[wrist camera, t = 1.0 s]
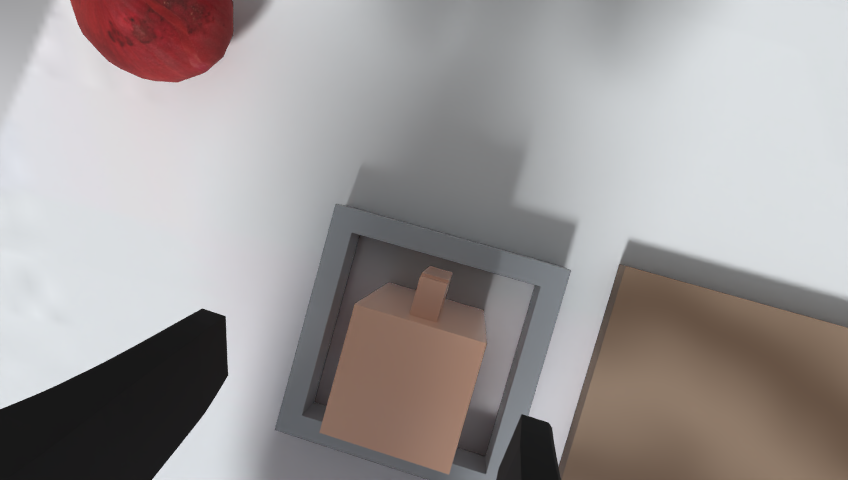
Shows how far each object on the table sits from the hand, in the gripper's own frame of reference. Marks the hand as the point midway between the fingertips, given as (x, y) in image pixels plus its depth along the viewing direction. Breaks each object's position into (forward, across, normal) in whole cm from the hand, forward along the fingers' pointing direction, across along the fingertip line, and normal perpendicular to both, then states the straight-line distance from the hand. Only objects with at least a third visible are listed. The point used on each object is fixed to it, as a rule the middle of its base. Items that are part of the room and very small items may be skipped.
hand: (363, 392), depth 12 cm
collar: (+10, 0, +8) cm, 13 cm away
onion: (+15, +14, -2) cm, 21 cm away
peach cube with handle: (+10, 0, +8) cm, 13 cm away
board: (+8, -14, +11) cm, 20 cm away
